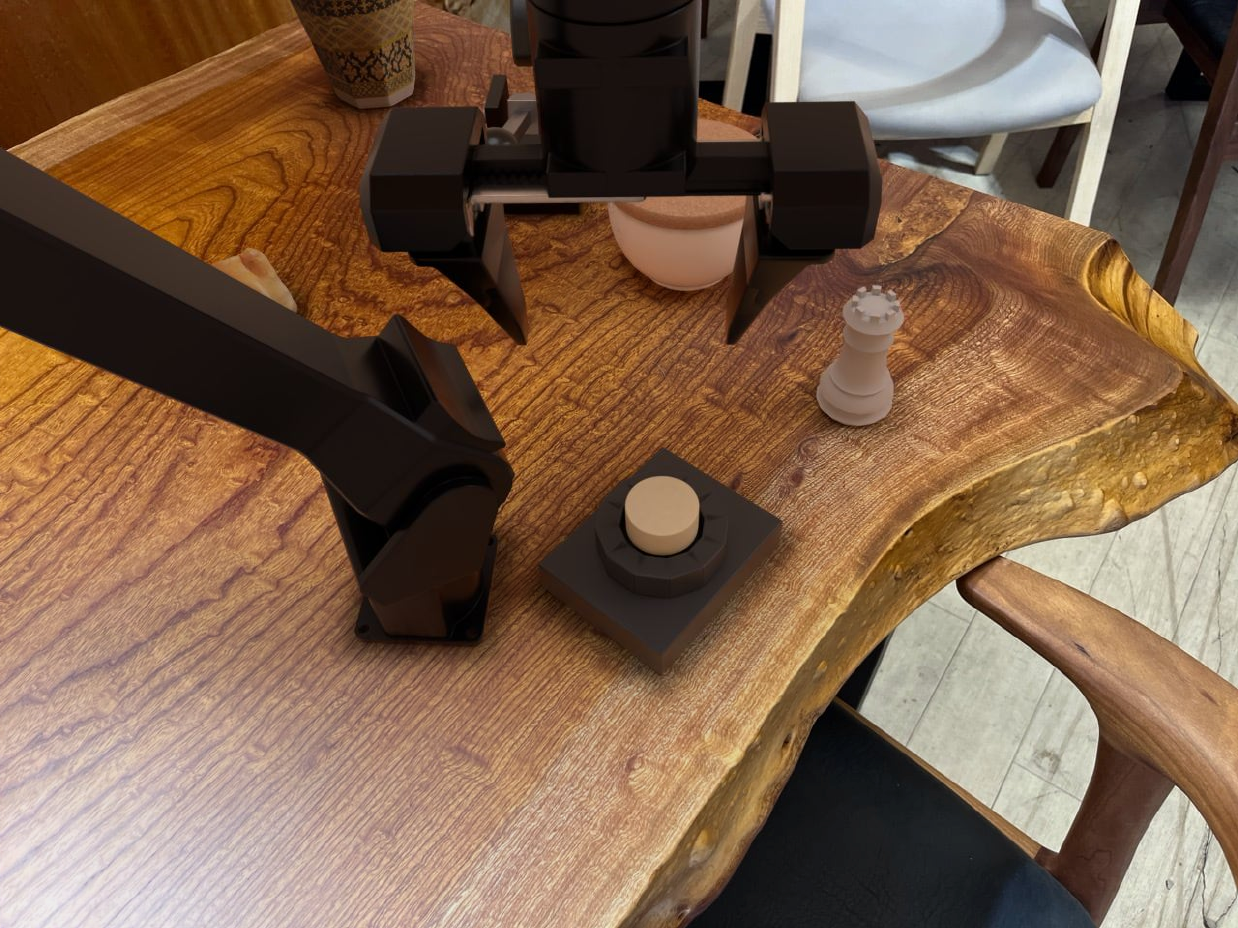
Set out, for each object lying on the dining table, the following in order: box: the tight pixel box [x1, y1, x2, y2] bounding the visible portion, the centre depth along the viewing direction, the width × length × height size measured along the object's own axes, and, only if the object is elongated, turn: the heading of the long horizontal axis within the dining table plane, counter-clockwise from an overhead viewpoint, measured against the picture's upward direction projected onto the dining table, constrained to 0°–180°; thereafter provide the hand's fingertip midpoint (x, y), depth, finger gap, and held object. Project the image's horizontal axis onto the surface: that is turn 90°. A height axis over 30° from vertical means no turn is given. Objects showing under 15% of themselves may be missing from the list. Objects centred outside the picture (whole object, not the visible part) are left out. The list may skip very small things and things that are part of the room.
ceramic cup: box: [289, 0, 416, 110], centre depth 79 cm, size 13×10×10 cm
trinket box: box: [606, 118, 758, 292], centre depth 62 cm, size 11×11×9 cm
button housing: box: [537, 446, 784, 676], centre depth 49 cm, size 10×8×4 cm
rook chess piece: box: [816, 284, 905, 427], centre depth 54 cm, size 4×4×8 cm
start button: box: [625, 476, 699, 556], centre depth 47 cm, size 4×4×2 cm
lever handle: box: [486, 92, 540, 145], centre depth 64 cm, size 15×3×3 cm, turn 176°
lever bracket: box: [482, 74, 582, 215], centre depth 71 cm, size 10×8×7 cm
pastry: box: [210, 247, 298, 313], centre depth 62 cm, size 9×7×4 cm
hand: (626, 338), depth 43 cm, fingers open, 9 cm apart
